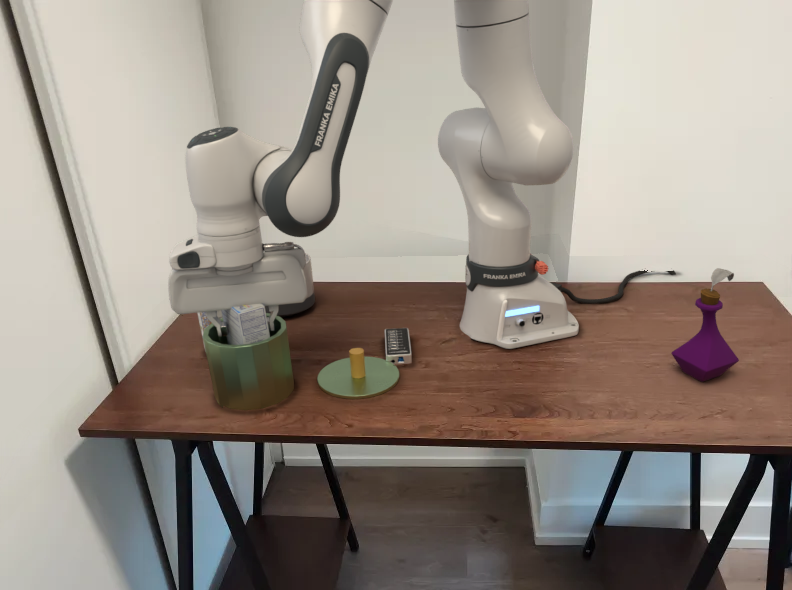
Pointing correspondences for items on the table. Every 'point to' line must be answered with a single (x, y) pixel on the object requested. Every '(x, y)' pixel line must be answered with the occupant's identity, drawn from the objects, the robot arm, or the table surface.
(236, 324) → the medicine box
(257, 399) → the tin
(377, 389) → the tin lid
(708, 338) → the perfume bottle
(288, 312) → the planter
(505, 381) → the table surface
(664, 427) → the table surface
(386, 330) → the multiport hub
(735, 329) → the table surface
